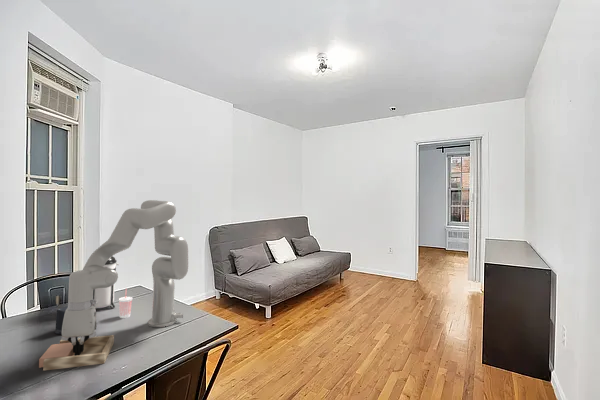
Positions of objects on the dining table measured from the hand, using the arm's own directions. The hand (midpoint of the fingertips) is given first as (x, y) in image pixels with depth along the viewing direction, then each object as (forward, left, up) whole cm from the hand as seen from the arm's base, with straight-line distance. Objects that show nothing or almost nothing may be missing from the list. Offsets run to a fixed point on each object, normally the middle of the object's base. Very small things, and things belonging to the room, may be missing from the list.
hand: (78, 353), depth 117 cm
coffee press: (+6, -55, -2) cm, 55 cm away
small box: (+10, -28, -2) cm, 30 cm away
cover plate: (+6, 0, -1) cm, 6 cm away
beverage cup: (-9, -40, -2) cm, 41 cm away
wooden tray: (-1, 0, -2) cm, 2 cm away
